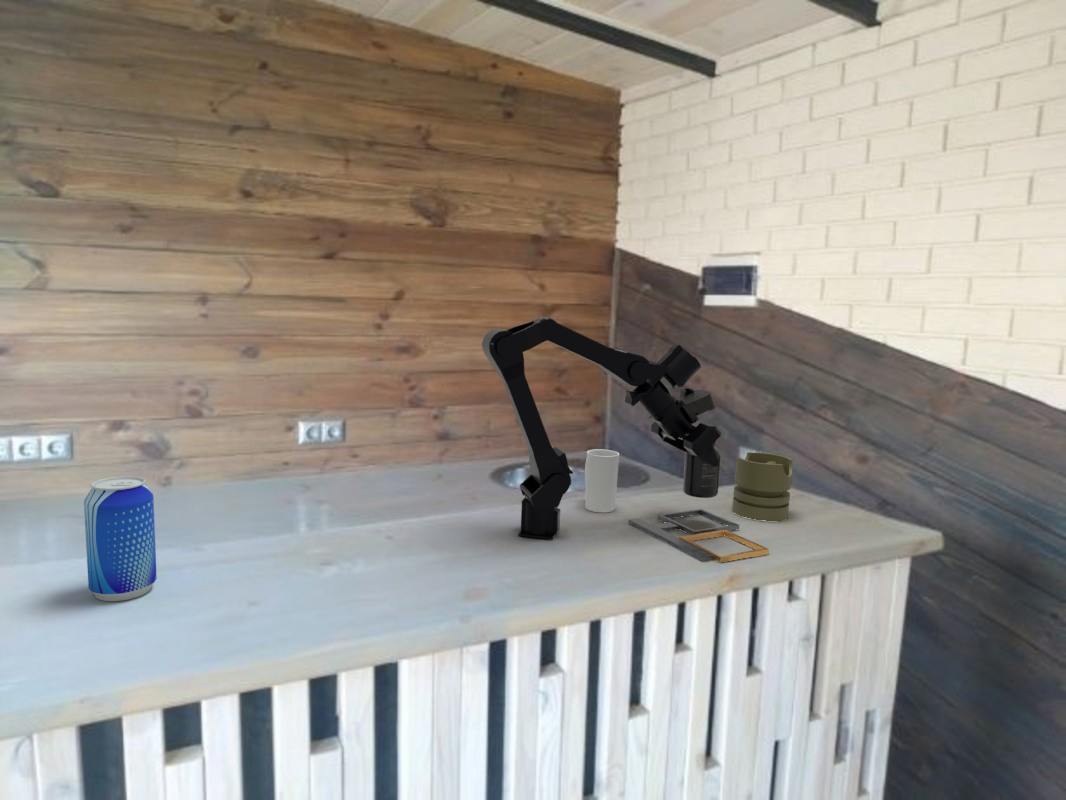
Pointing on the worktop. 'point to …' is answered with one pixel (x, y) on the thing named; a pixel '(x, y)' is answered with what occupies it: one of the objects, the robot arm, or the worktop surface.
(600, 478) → the mug
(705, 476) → the supplement bottle
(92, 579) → the beer can
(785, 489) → the piston
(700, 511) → the silver gold metal frame
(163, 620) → the worktop surface
